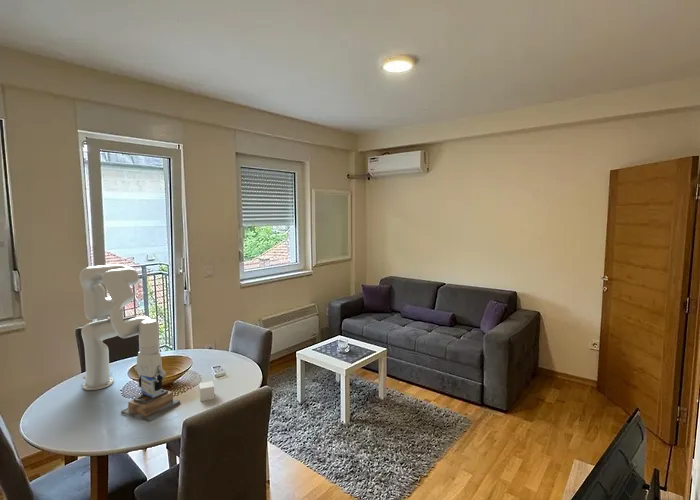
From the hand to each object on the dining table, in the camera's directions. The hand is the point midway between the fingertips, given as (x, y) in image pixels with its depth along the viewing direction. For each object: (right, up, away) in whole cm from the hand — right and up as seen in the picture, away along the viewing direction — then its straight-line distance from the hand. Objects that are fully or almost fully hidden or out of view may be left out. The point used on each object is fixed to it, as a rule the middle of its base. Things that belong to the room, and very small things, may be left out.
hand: (150, 387), depth 162 cm
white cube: (+20, -9, +12) cm, 25 cm away
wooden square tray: (0, -9, +1) cm, 9 cm away
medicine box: (0, -3, +1) cm, 3 cm away
